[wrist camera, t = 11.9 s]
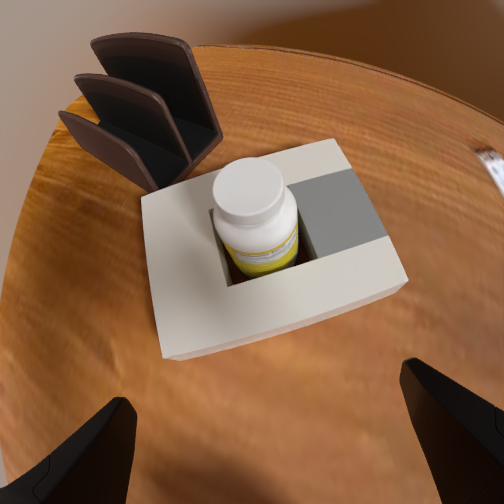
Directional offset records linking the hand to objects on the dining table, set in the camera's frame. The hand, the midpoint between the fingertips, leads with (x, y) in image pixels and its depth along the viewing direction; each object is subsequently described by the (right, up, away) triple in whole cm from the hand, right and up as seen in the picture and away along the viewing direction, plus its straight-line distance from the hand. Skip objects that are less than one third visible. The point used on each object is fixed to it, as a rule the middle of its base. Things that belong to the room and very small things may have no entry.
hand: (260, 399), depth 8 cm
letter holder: (-14, +18, +25) cm, 34 cm away
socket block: (+1, +4, +17) cm, 17 cm away
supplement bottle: (+1, +4, +17) cm, 17 cm away
